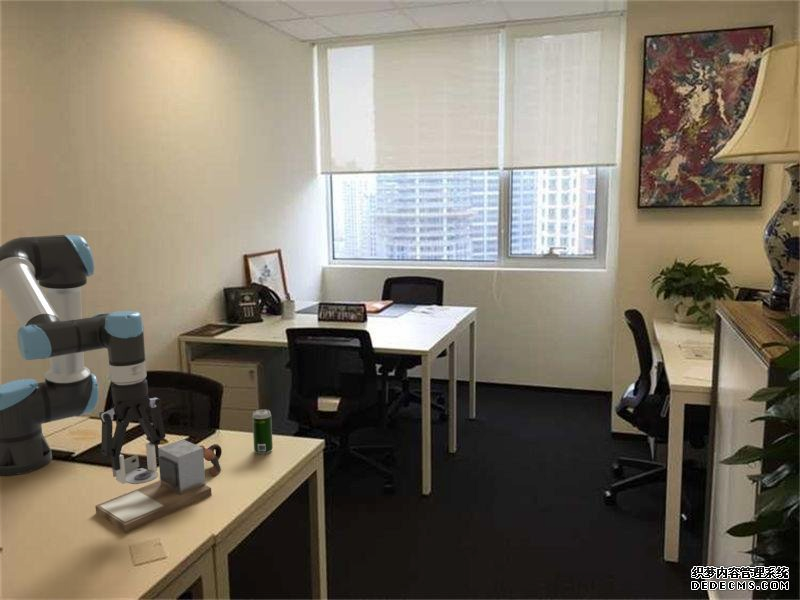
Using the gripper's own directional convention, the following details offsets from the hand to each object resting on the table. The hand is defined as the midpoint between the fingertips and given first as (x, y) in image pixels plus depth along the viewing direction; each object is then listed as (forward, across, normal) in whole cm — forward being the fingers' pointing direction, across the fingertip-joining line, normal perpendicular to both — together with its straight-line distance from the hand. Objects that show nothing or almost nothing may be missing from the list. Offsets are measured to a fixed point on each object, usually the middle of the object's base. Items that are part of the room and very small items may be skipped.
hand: (137, 475), depth 143 cm
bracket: (+1, 0, 0) cm, 1 cm away
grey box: (+9, +14, +4) cm, 17 cm away
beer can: (+11, +43, +8) cm, 45 cm away
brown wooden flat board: (+11, +6, +4) cm, 13 cm away
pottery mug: (+11, +24, +11) cm, 29 cm away
